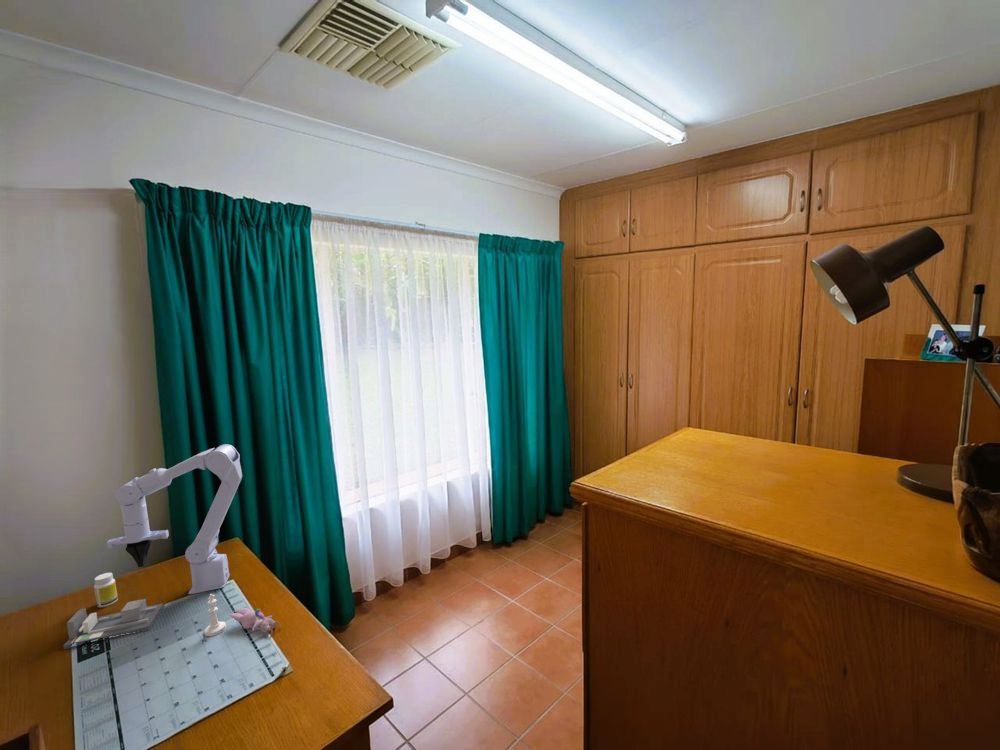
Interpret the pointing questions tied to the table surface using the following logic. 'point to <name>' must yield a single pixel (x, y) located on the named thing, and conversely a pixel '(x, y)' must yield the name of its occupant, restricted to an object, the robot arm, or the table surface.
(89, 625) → the white narrow bar
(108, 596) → the supplement bottle
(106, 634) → the gauge base
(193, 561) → the robot arm
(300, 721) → the table surface
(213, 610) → the chess piece
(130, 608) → the stepped grey block
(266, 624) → the pink toy animal
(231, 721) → the table surface
